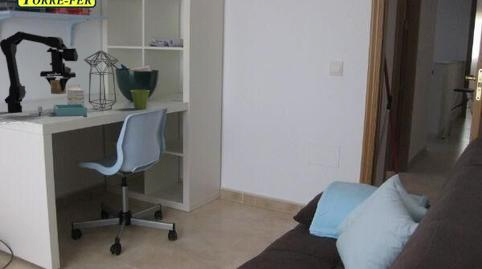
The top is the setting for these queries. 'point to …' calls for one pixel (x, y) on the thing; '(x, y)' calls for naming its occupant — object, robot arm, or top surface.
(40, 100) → the top surface
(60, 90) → the taped shipping carton
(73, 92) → the ink cartridge box
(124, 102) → the top surface
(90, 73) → the geometric lantern
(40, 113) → the stud plate
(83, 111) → the bin
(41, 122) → the top surface
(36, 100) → the top surface
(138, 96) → the plant pot
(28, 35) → the robot arm
